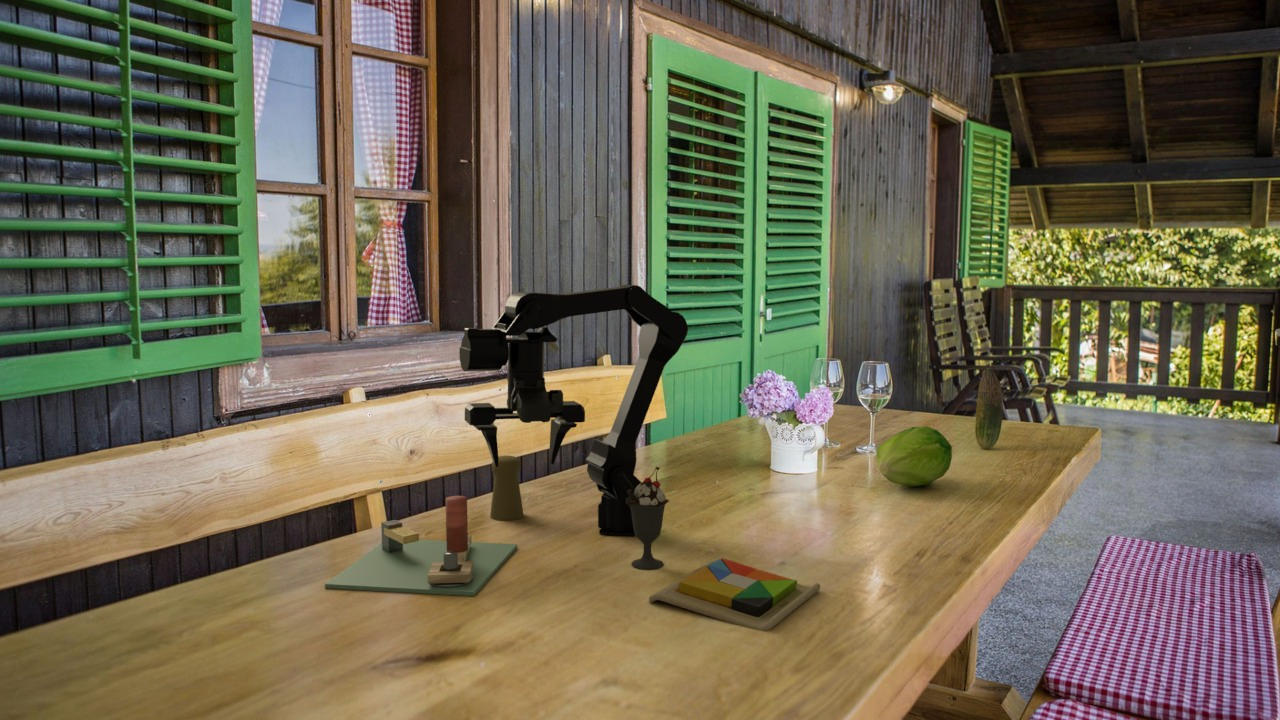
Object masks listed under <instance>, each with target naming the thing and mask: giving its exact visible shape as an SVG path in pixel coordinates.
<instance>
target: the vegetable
mask: <svg viewBox="0 0 1280 720" xmlns="http://www.w3.org/2000/svg"><path fill="white" fill-rule="evenodd" d="M977 391H978V392H977V399H976V401H977V402H976V410H975V412H976V413H975V427H974V429H975V430H974V431H975V433H974V434H975V439H976V443H977V444H978V446H979V447H980V448H981V449H984V450H990V449H991V448H993V447H994V446H995V445H996V444H997V442H998V440H999V437H1000V434H1001V429H1002V425H1003V417H1004V416H1003V415H1004V414H1003V413H1004V407H1003V405H1004V404H1003V392H1002V385H1001V382H1000V380H999V379H998V376H997V375H996V372H995V371H994V370H993V369H992V368H990V367H988V368H985V369H984V370H983V372H982V376H981V378H980V381H979V385H978V390H977Z"/></svg>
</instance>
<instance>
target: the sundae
mask: <svg viewBox="0 0 1280 720" xmlns="http://www.w3.org/2000/svg"><path fill="white" fill-rule="evenodd" d="M660 469H661V468H660V467H659V466H655V469H654V471H653V473H652V474H651V475H650V476H649V477H645V478H644V480H643V481H641V482H642V483H639V485H638V486H637V487H636V488H635V491H634V494H633V492H632V491H631V489H629V490H628V491H627V492H628V495H629V496H630V497H628V498H627V499H626V504H627V506H630V508H631V513H632V521H633V528H634V533H635V537H636V539H638V540H639V541H641V543H642V544H643V553H642V555H641V558H637V559H634V560H632V562H631V567H633V568H635V569H639V570H644V571H645V570H648V571H651V570H656V569H657V570H658V569H660V568H662V567H663V566H664V562H663V560H661V559H657V558H655V557H654V556H653V553H652V543H653V542H655V540H657V539H658V538H659V536H661V532H662V528H663V521H664V520H663V519H664V513H665V508H666V507H665V506H666V504H668V503H669V502H670V500H669V499H667V498H666V494H665V492H664V491H663V489H661V482H660V481H658V471H659V470H660ZM654 474H655V480H654V481H653V482H652V479H651V478H652V476H653V475H654Z"/></svg>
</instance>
